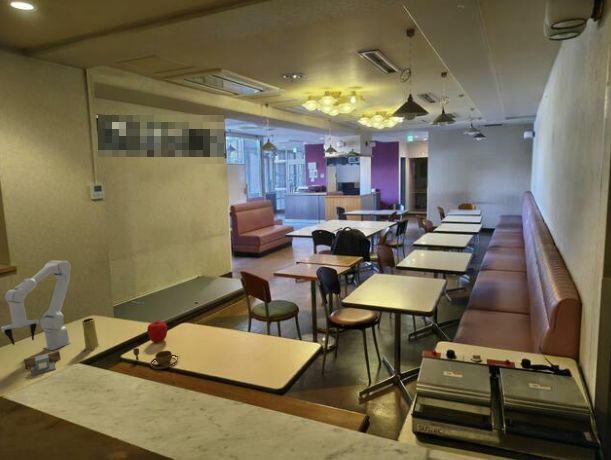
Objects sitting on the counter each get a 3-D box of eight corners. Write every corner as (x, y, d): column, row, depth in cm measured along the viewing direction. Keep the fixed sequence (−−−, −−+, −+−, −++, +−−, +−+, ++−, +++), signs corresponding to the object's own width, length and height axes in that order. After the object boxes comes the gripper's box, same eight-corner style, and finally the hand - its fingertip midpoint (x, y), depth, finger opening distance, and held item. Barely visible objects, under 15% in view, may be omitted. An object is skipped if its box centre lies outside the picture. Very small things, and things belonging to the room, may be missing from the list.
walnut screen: (60, 358, 199) (59, 350, 199) (60, 359, 198) (59, 351, 198) (25, 367, 192) (23, 359, 191) (25, 368, 191) (23, 360, 190)
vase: (85, 350, 206) (81, 323, 204) (85, 346, 211) (81, 319, 209) (99, 347, 209) (95, 320, 206) (98, 343, 214) (94, 316, 212)
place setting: (151, 376, 179) (149, 363, 178) (132, 361, 193) (130, 350, 192) (188, 361, 191) (186, 348, 190) (167, 348, 205) (166, 337, 204)
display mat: (54, 361, 196) (54, 360, 196) (55, 369, 188) (55, 368, 188) (31, 367, 191) (31, 366, 191) (32, 375, 184) (31, 374, 183)
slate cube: (49, 363, 193) (47, 353, 192) (50, 367, 189) (48, 357, 188) (36, 367, 190) (35, 356, 190) (37, 371, 186) (35, 361, 185)
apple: (164, 345, 207) (162, 324, 205) (145, 346, 207) (142, 325, 205) (171, 337, 217) (169, 317, 215) (153, 337, 217) (150, 318, 215)
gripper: (-2, 320, 188) (4, 349, 190) (36, 313, 196) (41, 340, 198) (-1, 316, 194) (5, 343, 196) (36, 309, 202) (41, 335, 204)
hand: (23, 341), depth 198 cm, fingers open, 7 cm apart
